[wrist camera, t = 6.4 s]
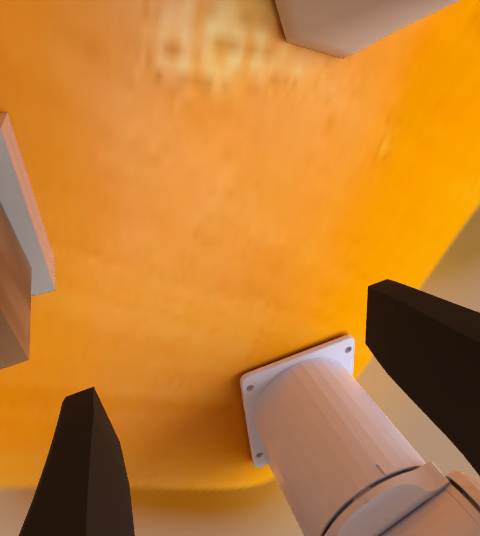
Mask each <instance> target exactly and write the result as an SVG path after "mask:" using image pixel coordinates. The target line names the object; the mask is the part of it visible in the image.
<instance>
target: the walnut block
mask: <svg viewBox="0 0 480 536" xmlns="http://www.w3.org/2000/svg"><path fill="white" fill-rule="evenodd" d="M31 280H32V268H31V266H30V263H29V261H28V259H27V257H26V255H25V253H24V251H23V249H22V247H21V244H20V242H19V240H18V238H17V236H16V234H15V232H14V230H13V227H12V225H11V223H10V221H9V219H8V217H7V215H6V213H5V211H4V208H3V206H2V204H1V202H0V369H3V368H6V367H9V366H12V365H15V364H18V363H21V362H24V361H27V360H29V340H30V310H31Z"/></svg>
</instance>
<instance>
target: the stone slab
mask: <svg viewBox="0 0 480 536" xmlns="http://www.w3.org/2000/svg"><path fill="white" fill-rule="evenodd" d="M0 202H1V204H2V206H3V208H4V211H5V213H6V215H7V217H8V219H9V221H10V223H11V225H12V227H13V230H14V232H15V234H16V236H17V238H18V240H19V242H20V244H21V247H22V249H23V251H24V253H25V255H26V257H27V259H28V261H29V263H30V266H31V268H32V280H31V296H35V295H39V294H43V293H47V292H52V291H56V289H55V261H54V255H53V252H52V249H51V246H50V243H49V240H48V237H47V234H46V230H45V227H44V224H43V221H42V218H41V215H40V212H39V209H38V206H37V203H36V199H35V196H34V193H33V190H32V187H31V184H30V181H29V178H28V175H27V171H26V168H25V165H24V162H23V159H22V156H21V153H20V150H19V147H18V144H17V140H16V137H15V134H14V131H13V128H12V125H11V122H10V119H9V116H8V112H4V113H0Z"/></svg>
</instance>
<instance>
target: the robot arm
mask: <svg viewBox="0 0 480 536" xmlns="http://www.w3.org/2000/svg"><path fill="white" fill-rule="evenodd" d="M365 343H366V345H367V346H368V348H369V349H370V350H371V352H372V353H373V355H374V356H375V358H376V359H377V360H378V362H379V363H380V364H381V366H382V367H383V368H384V370H385V371H386V372H387V373H388V375H389V376H390V377H391V378H392V379H393V380H394V381H395V382H396V383H397V385H398V386H399V387H400V388H401V389H402V390H403V391H404V392H405V393H406V394H407V395H408V396H409V397H410V398H411V399H412V400H413V402H414V403H415V404H416V405H417V406H418V407H419V408H420V409H421V410H422V411H423V412H424V413H425V414H426V415H427V416H428V417H429V418H430V419H431V420H432V421H433V422H434V423H435V425H436V426H437V427H438V428H439V429H440V430H441V431H442V432H443V433H444V434H445V435H446V436H447V437H448V438H449V439H450V440H451V442H452V443H453V444H454V445H455V446H456V447H457V448H458V449H459V451H460V452H461V453H462V454H463V455H464V456H465V458H466V459H467V460H468V462H469V463H470V464H471V465H472V467H473V468H474V469H475V470H476V472H477V473H478V474H479V476H480V313H479V312H476V311H473V310H470V309H468V308H465V307H462V306H460V305H457V304H454V303H452V302H449V301H446V300H443V299H441V298H438V297H436V296H433V295H430V294H428V293H425V292H423V291H420V290H417V289H415V288H412V287H409V286H406V285H404V284H401V283H398V282H395V281H392V280H389V279H387V280H384V281H381V282H378V283H376V284H373V285H370V286H368V299H367V320H366V341H365ZM354 345H355V340H354V338H353V337H352V336H351V335H345V336H342V337H339V338H337V339H334V340H332V341H329V342H326V343H324V344H321V345H318V346H316V347H313V348H311V349H308V350H305V351H303V352H300V353H297V354H295V355H292V356H290V357H287V358H284V359H282V360H279V361H276V362H274V363H271V364H269V365H266V366H263V367H261V368H258V369H255V370H253V371H250V372H248V373H245V374H243V375H242V376H241V378H240V387H241V393H242V400H243V406H244V412H245V418H246V425H247V431H248V437H249V443H250V450H251V456H252V462H253V464H254V466H255V467H256V468H259V467H262V466H264V465H267V464H269V466H270V468H271V470H272V472H273V474H274V476H275V478H276V480H277V482H278V484H279V486H280V488H281V490H282V492H283V494H284V496H285V498H286V500H287V502H288V504H289V506H290V508H291V510H292V512H293V514H294V516H295V518H296V520H297V522H298V524H299V526H300V528H301V530H302V532H303V534H304V536H480V479H479V478H478V477H476V476H474V475H471V474H466V473H462V472H460V471H458V470H454V471H451V472H450V473H449V474H447V475H446V477H445V476H444V474H443V473H442V472H441V471H440V470H439V469H438V468H437V466H436V465H435V464H434V463H433V462H432V461H429V462H427V463H425V461H424V460H423V459H422V458H421V457H420V456H419V455H418V453H417V452H416V451H415V450H414V448H412V446H411V445H410V444H409V443H408V441H407V440H406V439H405V438H404V437H403V435H402V434H401V433H400V432H399V431H398V430H397V428H396V427H395V426H394V425H393V424H392V423H391V421H390V420H389V419H388V418H387V417H386V415H385V414H384V413H383V412H382V411H381V410H380V409H379V407H378V406H377V405H376V404H375V402H374V401H373V400H372V399H371V398H370V397H369V396H368V394H367V393H366V392H365V391H364V389H363V388H362V387H361V386H360V385H359V384H358V382H357V381H356V380H355V379H354V378H353V363H354ZM249 385H250V386H249ZM19 536H135V535H134V525H133V515H132V506H131V497H130V488H129V482H128V477H127V473H126V468H125V463H124V459H123V454H122V450H121V446H120V442H119V440H118V437H117V435H116V433H115V431H114V429H113V427H112V425H111V423H110V420H109V418H108V416H107V414H106V412H105V410H104V408H103V406H102V403H101V401H100V399H99V397H98V395H97V393H96V391H95V388H94V387H92V388H89V389H86V390H83V391H81V392H78V393H75V394H73V395H70V396H67V397H66V398H65V399H64V401H63V402H62V407H61V411H60V415H59V419H58V423H57V426H56V430H55V433H54V437H53V440H52V444H51V447H50V450H49V454H48V457H47V460H46V463H45V466H44V469H43V472H42V475H41V478H40V481H39V484H38V487H37V489H36V492H35V495H34V498H33V501H32V503H31V506H30V509H29V511H28V514H27V516H26V519H25V521H24V524H23V526H22V529H21V531H20V534H19Z"/></svg>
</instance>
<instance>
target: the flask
mask: <svg viewBox="0 0 480 536" xmlns="http://www.w3.org/2000/svg"><path fill="white" fill-rule="evenodd" d="M458 1H461V0H275V3H276V7H277V10H278V14H279V17H280V20H281V24H282V27H283V31H284V34H285V38H286V41H287V42H288V43H291V44H295V45H298V46H302V47H305V48H308V49H312V50H315V51H319V52H322V53H325V54H329V55H332V56H336V57H339V58H343V59H344V58H346V57H348V56H350V55H352V54H354V53H356V52H358V51H360V50H362V49H364V48H366V47H367V46H369V45H371V44H373V43H375V42H377V41H379V40H380V39H382V38H384V37H386V36H388V35H390V34H392V33H393V32H395V31H397V30H399V29H401V28H403V27H406V26H408V25H410V24H412V23H414V22H416V21H418V20H420V19H422V18H424V17H426V16H428V15H431V14H433V13H435V12H437V11H439V10H441V9H443V8H445V7H447V6H449V5H451V4H453V3H456V2H458Z"/></svg>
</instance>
